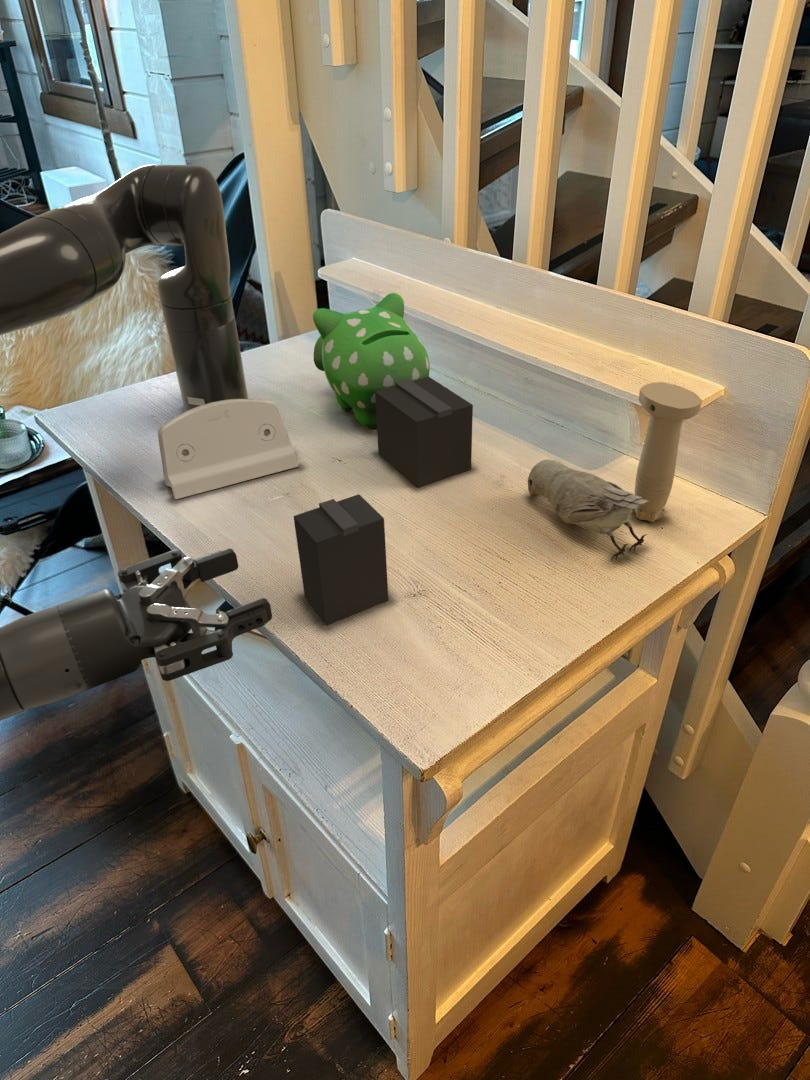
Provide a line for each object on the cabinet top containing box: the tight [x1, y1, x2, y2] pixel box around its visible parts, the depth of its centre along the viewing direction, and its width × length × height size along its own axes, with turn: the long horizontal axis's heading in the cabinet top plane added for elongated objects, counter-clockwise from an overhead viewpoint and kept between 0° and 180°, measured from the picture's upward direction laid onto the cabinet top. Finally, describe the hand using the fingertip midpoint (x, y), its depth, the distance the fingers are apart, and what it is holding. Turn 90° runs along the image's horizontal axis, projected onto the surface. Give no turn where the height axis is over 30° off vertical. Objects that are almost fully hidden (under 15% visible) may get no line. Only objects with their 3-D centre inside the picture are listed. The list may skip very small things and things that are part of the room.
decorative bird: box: [527, 459, 649, 562], centre depth 83 cm, size 5×16×8 cm, turn 35°
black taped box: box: [375, 376, 474, 488], centre depth 95 cm, size 10×8×9 cm
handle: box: [633, 381, 703, 523], centre depth 82 cm, size 5×6×15 cm
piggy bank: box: [312, 292, 431, 430], centre depth 107 cm, size 14×18×15 cm
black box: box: [293, 493, 389, 626], centre depth 73 cm, size 5×7×10 cm
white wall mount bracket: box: [157, 398, 299, 500], centre depth 96 cm, size 17×5×10 cm, turn 117°
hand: (252, 582), depth 69 cm, fingers open, 8 cm apart
